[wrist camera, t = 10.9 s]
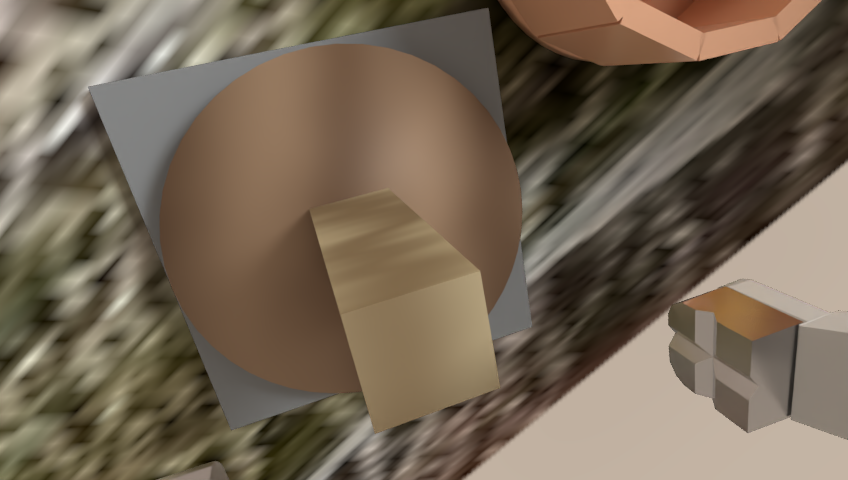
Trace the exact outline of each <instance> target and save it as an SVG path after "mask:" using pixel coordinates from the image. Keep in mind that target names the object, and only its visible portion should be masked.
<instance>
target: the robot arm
mask: <svg viewBox="0 0 848 480" xmlns="http://www.w3.org/2000/svg"><path fill="white" fill-rule="evenodd" d="M668 317H669V319H668V325H669V326H670V327H671V328H672V330H673V331H674V332H675V335H674V337H673V339H672V341H671V343H670V345H669V356H670V363H671V365H672V367H673V369H674V371H675V373H676V376H677V377H678V378H679V379H680V381H681V382H682V383H683V384H684V385H685V386H686V387H688V388H689V389H690V390H691V391H692V392H694V393H695V394H699V395H702V396H706V397H710V398H712V399H713V403H714V406H715V409H716V410H718V411H719V412H720V413H722V414H723V415H724V416H725V417H727V418H728V419H729V420H731V421H732V422H733V423H735V424H736V425H737V426H739V427H740V428H741V429H743V430H744V431H746V432H747V433H749V432H752V431H755V430H757V429H760V428H762V427H765V426H768V425H770V424H773V423H776V422H778V421H781V420H784V419H786V418H789V417H791V420H793V421H796V422H799V423H802V424H804V425H807V426H810V427H813V428H816V429H818V430H821V431H824V432H827V433H830V434H833V435H836V436H838V437H841V438H844V439H847V440H848V312H847V311H839V310H838V311H835V312H832V313H830V312H828V311H825V310H823V309H820V308H818V307H816V306H813V305H811V304H808V303H806V302H804V301H801V300H799V299H796V298H794V297H792V296H789V295H787V294H785V293H782V292H780V291H778V290H775V289H773V288H770V287H768V286H765V285H763V284H761V283H758V282H756V281H754V280H750V279H740V280H737V281H735V282H732V283H729V284H727V285H724V286H721V287H719V288H718V289H716V290H713V291H710V292H707V293H704V294H702V295H699V296H696V297H693V298H690V299H687V300H684V301H681V302H679V303H676V304H673V305H672V306H671V308H670V311H669V313H668ZM157 480H229V478H228V476H227V474H226V472H225V470H224V468H223V466H222V464H221V463H219V462H217V461H213V462H210V463H207V464H204V465H201V466H198V467H195V468H192V469H188V470H185V471H182V472H179V473H176V474H173V475H170V476H167V477H163V478H160V479H157Z"/></svg>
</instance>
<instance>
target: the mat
mask: <svg viewBox="0 0 848 480" xmlns="http://www.w3.org/2000/svg"><path fill="white" fill-rule="evenodd" d="M330 44H366V45H373V46H379V47H386V48H390V49H394V50H397V51H400V52H403V53H407V54H410V55H413V56H415V57H417V58H420V59H422V60H424V61H426V62H428V63H430V64H433V65H435V66H436V67H438V68H439V69H441V70H443V71H444V72H446V73H447V74H449V75H450V76H452V77H453V78H455V79H456V80H457V81H458V82H460V83H461V84H462V85H463V86H464V87H465V88H467V89H468V90H469V91H470V92H471V93H472V94H473V95H474V96H475V97H476V98H477V99H478V100H479V101H480V103H481V104H482V105H483V106H484V107H485V108H486V109H487V110H488V112H489V113H490V115H491V116H492V118H493V119H494V121H495V122H496V124H497V125H498V127H499V128H500V130H501V132H502V134H503V136H504V138H505V140H506V142H507V139H506V132H505V125H504V117H503V110H502V103H501V95H500V88H499V81H498V74H497V66H496V59H495V52H494V45H493V37H492V30H491V23H490V16H489V8H484V9H479V10H474V11H469V12H464V13H458V14H453V15H448V16H443V17H438V18H433V19H428V20H423V21H418V22H413V23H408V24H403V25H398V26H393V27H388V28H383V29H378V30H372V31H367V32H362V33H357V34H352V35H347V36H342V37H337V38H332V39H327V40H322V41H317V42H312V43H307V44H302V45H297V46H292V47H287V48H281V49H276V50H271V51H266V52H261V53H256V54H251V55H246V56H241V57H236V58H231V59H226V60H221V61H216V62H211V63H206V64H201V65H195V66H190V67H185V68H180V69H175V70H170V71H165V72H160V73H155V74H150V75H145V76H140V77H135V78H130V79H125V80H120V81H115V82H109V83H104V84H99V85H94V86H89V87H88V88H89V91H90V93H91V95H92V98H93V100H94V103H95V105H96V107H97V110H98V112H99V115H100V117H101V119H102V122H103V124H104V127H105V129H106V131H107V134H108V136H109V139H110V141H111V143H112V146H113V148H114V151H115V153H116V155H117V158H118V160H119V163H120V165H121V167H122V170H123V172H124V174H125V177H126V179H127V182H128V184H129V186H130V189H131V191H132V194H133V196H134V198H135V201H136V203H137V206H138V208H139V210H140V213H141V215H142V218H143V220H144V222H145V225H146V227H147V230H148V232H149V234H150V237H151V239H152V242H153V244H154V246H155V249H156V251H157V254H158V256H159V258H160V261H161V263H162V266H163V268H164V270H165V273H166V275H167V272H166V269H165V266H164V261H163V255H162V250H161V244H160V219H159V215H160V207H161V200H162V192H163V187H164V184H165V180H166V177H167V173H168V170H169V166H170V164H171V161H172V159H173V157H174V155H175V153H176V151H177V148H178V146H179V144H180V142H181V140H182V138H183V137H184V135H185V134H186V132H187V131H188V129H189V128H190V126H191V125H192V123H193V122H194V120H195V118H196V117H197V116H198V115H199V114H200V113H201V112H202V110H203V109H204V108H205V107H206V106H207V105H208V104H209V103H210V101H211V100H212V99H213V98H214V97H215V96H216V95H217V94H219V93H220V92H221V91H222V90H223V89H225V88H226V87H227V86H228V85H229V84H231V83H232V82H233V81H234V80H235V79H237V78H239V77H240V76H242V75H243V74H245V73H247V72H248V71H250V70H252V69H253V68H255V67H256V66H258V65H260V64H262V63H265V62H267V61H269V60H272V59H274V58H276V57H279V56H281V55H283V54H286V53H290V52H294V51H297V50H301V49H305V48H308V47H314V46H322V45H330ZM167 277H168V275H167ZM168 280H169V278H168ZM169 282H170V281H169ZM170 285H171V284H170ZM175 297H176V296H175ZM176 299H177V298H176ZM177 301H178V300H177ZM178 304H179V306H180V309H181V311H182V313H183V316H184V318H185V321H186V323H187V325H188V328H189V330H190V333H191V335H192V337H193V340H194V342H195V345H196V347H197V349H198V352H199V354H200V357H201V359H202V361H203V364H204V366H205V369H206V371H207V373H208V376H209V378H210V380H211V383H212V385H213V388H214V390H215V392H216V395H217V397H218V400H219V402H220V404H221V407H222V409H223V412H224V414H225V416H226V419H227V421H228V424H229V426H230V428H231V430H234V429H237V428H240V427H243V426H246V425H248V424H251V423H254V422H257V421H260V420H263V419H266V418H269V417H272V416H275V415H278V414H280V413H283V412H286V411H289V410H292V409H295V408H298V407H301V406H304V405H307V404H309V403H312V402H315V401H318V400H321V399H324V398H327V397H330V396H333V395H336V394H339V393H319V392H309V391H303V390H298V389H292V388H288V387H285V386H282V385H279V384H275V383H272V382H269V381H267V380H265V379H262V378H260V377H258V376H256V375H254V374H251V373H249V372H248V371H246V370H244V369H243V368H241V367H239V366H238V365H236V364H234V363H233V362H231V361H230V360H228V359H227V358H226V357H225V356H224V355H222V354H221V353H220V352H219V351H217V350H216V349H215V348H214V347H212V346H211V344H210V343H209V342H208V341H207V340H206V339H205V338H204V337H203V336H202V335H201V334H200V333H199V332H198V331H197V329H196V328H195V327H194V325H193V324H192V322H191V321H190V320H189V318H188V317H187V315H186V314H185V312H184V311H183V309H182V307H181V305H180V303H179V301H178ZM488 319H489V325H490V331H491V336H492V341H493V340H495V339H498V338H501V337H504V336H507V335H510V334H513V333H516V332H519V331H522V330H524V329H527V328H530V327H532V321H531V313H530V306H529V299H528V292H527V284H526V277H525V270H524V262H523V255H522V248H521V241H519V247H518V252H517V256H516V259H515V262H514V266H513V269H512V272H511V274H510V277H509V279H508V281H507V283H506V286H505V288H504V290H503V292H502V294H501V296H500V297H499V299H498V301H497V302H496V304H495V306H494V308H493V309H492V310H491V312H490V313H489V315H488Z"/></svg>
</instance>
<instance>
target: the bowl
mask: <svg viewBox="0 0 848 480" xmlns="http://www.w3.org/2000/svg"><path fill="white" fill-rule="evenodd" d="M821 1H822V0H498V2H499V3H500V5H501V6H502V8H503V9H504V10H505V12H506V13H507V14H508V15H509V17H510V18H511V19H512V21H513V22H514V23H515V24H516V25H517V26H518V27H519V28H520V29H521V30H522V31H523V32H524V33H525V34H526V35H528V36H529V37H530V38H532V39H533V40H534V41H536V42H537V43H538V44H540V45H541V46H543V47H545V48H547V49H549V50H551V51H553V52H554V53H556V54H559V55H562V56H565V57H568V58H571V59H575V60H581V61H587V62H593V63H596V64H598V65H600V66H612V65H631V64H651V63H670V62H689V61H701V60H705V59H710V58H714V57H718V56H722V55H726V54H730V53H734V52H738V51H742V50H747V49H751V48H755V47H759V46H763V45H767V44H771V43H775V42H778V40H782V39H783V38H784V37H785V36H786V35H787V34H788V33H789V32H790V31H791V30H792V29H793V28H794V27H795V26H796V25H797V24H798V23H799V22H800V21H801V20H802V19H803V18H804V17H805V16H806V15H807V14H808V13H809V12H810V11H811V10H812V9H813V8H815V7H816V6H817V5H818V4H819V3H820V2H821Z"/></svg>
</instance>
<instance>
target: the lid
mask: <svg viewBox="0 0 848 480" xmlns="http://www.w3.org/2000/svg"><path fill="white" fill-rule="evenodd" d="M159 219H160V244H161V250H162V255H163V261H164V266H165V269H166V272H167V275H168V278H169V281H170V284H171V287H172V290H173V292H174V294H175V296H176V298H177V300H178V301H179V303H180V305H181V307H182V309H183V311H184V312H185V314H186V315H187V317H188V318H189V320H190V321H191V322H192V324H193V325H194V327H195V328H196V329H197V331H198V332H199V333H200V334H201V335H202V336H203V337H204V338H205V339H206V340H207V341H208V342H209V343H210V344H211V346H212V347H214V348H215V349H216V350H217V351H219V352H220V353H221V354H222V355H224V356H225V357H226V358H227V359H228V360H230V361H231V362H233V363H234V364H236V365H238V366H239V367H241V368H243V369H244V370H246V371H248V372H249V373H251V374H254V375H256V376H258V377H260V378H262V379H265V380H267V381H269V382H272V383H275V384H279V385H282V386H285V387H288V388H292V389H298V390H303V391H309V392H319V393H350V392H360V391H363V395H364V398H365V401H366V405H367V408H368V412H369V415H370V418H371V422H372V425H373V428H374V432H375V434H376V433H379V432H381V431H384V430H387V429H390V428H392V427H395V426H398V425H400V424H403V423H406V422H409V421H411V420H414V419H417V418H420V417H422V416H425V415H428V414H430V413H433V412H436V411H439V410H441V409H444V408H447V407H449V406H452V405H455V404H458V403H460V402H463V401H466V400H469V399H471V398H474V397H477V396H479V395H482V394H485V393H488V392H490V391H493V390H496V389H499V388H500V383H499V377H498V371H497V366H496V360H495V354H494V348H493V342H492V336H491V331H490V325H489V319H488V315H489V313H490V312H491V310H492V309H493V308H494V306H495V304H496V302H497V301H498V299H499V297H500V296H501V294H502V292H503V290H504V288H505V286H506V283H507V281H508V279H509V277H510V274H511V272H512V269H513V266H514V262H515V259H516V256H517V252H518V247H519V241H520V236H521V226H522V199H521V188H520V183H519V178H518V173H517V169H516V166H515V163H514V160H513V157H512V154H511V151H510V148H509V146H508V144H507V142H506V140H505V138H504V136H503V134H502V132H501V130H500V128H499V127H498V125H497V124H496V122H495V121H494V119H493V118H492V116H491V115H490V113H489V112H488V110H487V109H486V108H485V107H484V106H483V105H482V104H481V103H480V101H479V100H478V99H477V98H476V97H475V96H474V95H473V94H472V93H471V92H470V91H469V90H468V89H467V88H465V87H464V86H463V85H462V84H461V83H460V82H458V81H457V80H456V79H455V78H453V77H452V76H450V75H449V74H447V73H446V72H444V71H443V70H441V69H439V68H438V67H436V66H435V65H433V64H430V63H428V62H426V61H424V60H422V59H420V58H417V57H415V56H413V55H410V54H407V53H403V52H400V51H397V50H394V49H390V48H386V47H379V46H373V45H366V44H330V45H322V46H314V47H308V48H305V49H301V50H297V51H294V52H290V53H286V54H283V55H281V56H279V57H276V58H274V59H272V60H269V61H267V62H265V63H262V64H260V65H258V66H256V67H255V68H253V69H252V70H250V71H248V72H247V73H245V74H243V75H242V76H240V77H239V78H237V79H235V80H234V81H233V82H232V83H231V84H229V85H228V86H227V87H226V88H225V89H223V90H222V91H221V92H220V93H219V94H217V95H216V96H215V97H214V98H213V99H212V100H211V101H210V103H209V104H208V105H207V106H206V107H205V108H204V109H203V110H202V112H201V113H200V114H199V115H198V116H197V117H196V118H195V120H194V122H193V123H192V125H191V126H190V128H189V129H188V131H187V132H186V134H185V135H184V137H183V138H182V140H181V142H180V144H179V146H178V148H177V151H176V153H175V155H174V157H173V159H172V161H171V164H170V166H169V170H168V173H167V177H166V180H165V184H164V187H163V192H162V200H161V207H160V215H159Z"/></svg>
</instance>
